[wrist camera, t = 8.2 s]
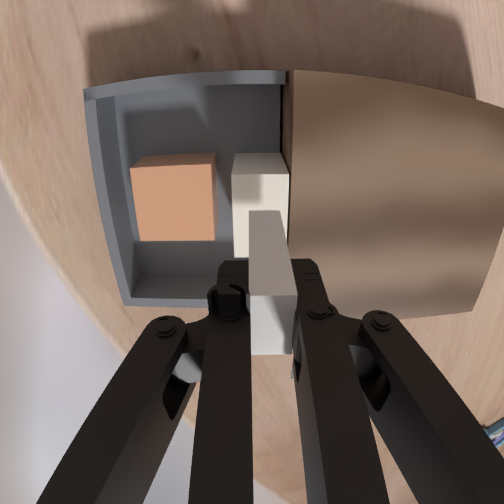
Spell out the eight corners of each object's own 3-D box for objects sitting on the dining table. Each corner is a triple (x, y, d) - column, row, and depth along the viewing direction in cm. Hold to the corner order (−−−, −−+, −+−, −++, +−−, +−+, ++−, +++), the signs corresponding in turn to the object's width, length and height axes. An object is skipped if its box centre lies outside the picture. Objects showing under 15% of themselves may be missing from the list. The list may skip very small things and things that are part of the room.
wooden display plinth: (282, 72, 19) (293, 69, 14) (477, 102, 19) (525, 116, 14) (277, 276, 27) (283, 325, 22) (442, 271, 27) (471, 311, 22)
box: (108, 85, 19) (83, 89, 15) (279, 72, 19) (285, 70, 16) (137, 276, 27) (123, 305, 24) (274, 276, 27) (278, 307, 24)
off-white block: (280, 152, 21) (235, 153, 21) (289, 174, 17) (231, 174, 17) (279, 220, 23) (237, 221, 23) (285, 256, 19) (234, 257, 19)
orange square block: (210, 164, 18) (215, 152, 21) (129, 168, 18) (144, 156, 21) (214, 240, 21) (218, 220, 23) (140, 240, 21) (152, 221, 23)
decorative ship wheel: (506, 450, 58) (427, 483, 59) (503, 443, 61) (424, 474, 62) (560, 392, 43) (478, 433, 44) (555, 383, 46) (473, 420, 47)
